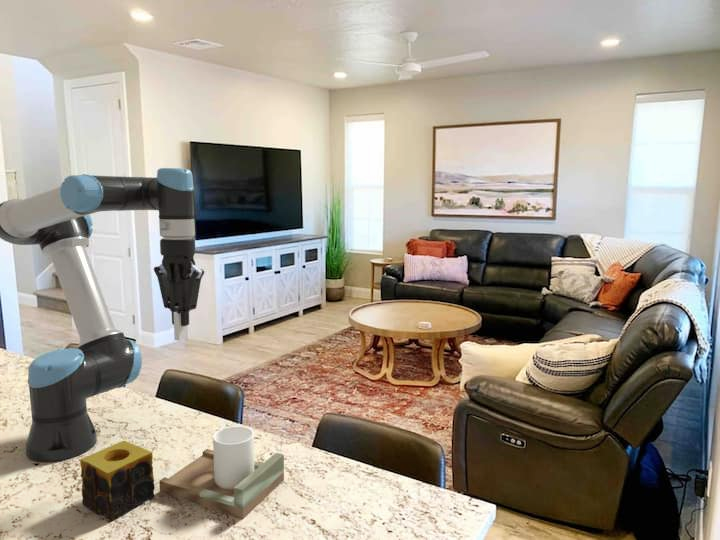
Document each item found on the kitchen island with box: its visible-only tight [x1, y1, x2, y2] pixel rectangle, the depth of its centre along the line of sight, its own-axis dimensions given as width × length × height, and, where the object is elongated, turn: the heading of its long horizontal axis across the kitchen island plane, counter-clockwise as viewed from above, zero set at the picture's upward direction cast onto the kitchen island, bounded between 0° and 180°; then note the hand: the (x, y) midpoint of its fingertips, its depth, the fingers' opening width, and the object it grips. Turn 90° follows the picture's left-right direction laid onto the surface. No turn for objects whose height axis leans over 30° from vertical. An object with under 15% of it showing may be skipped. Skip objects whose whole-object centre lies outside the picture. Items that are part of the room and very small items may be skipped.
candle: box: [79, 440, 155, 522], centre depth 105 cm, size 10×10×10 cm
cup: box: [212, 425, 255, 490], centre depth 111 cm, size 8×12×10 cm
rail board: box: [158, 448, 285, 519], centre depth 111 cm, size 21×15×6 cm
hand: (181, 338), depth 121 cm, fingers closed
